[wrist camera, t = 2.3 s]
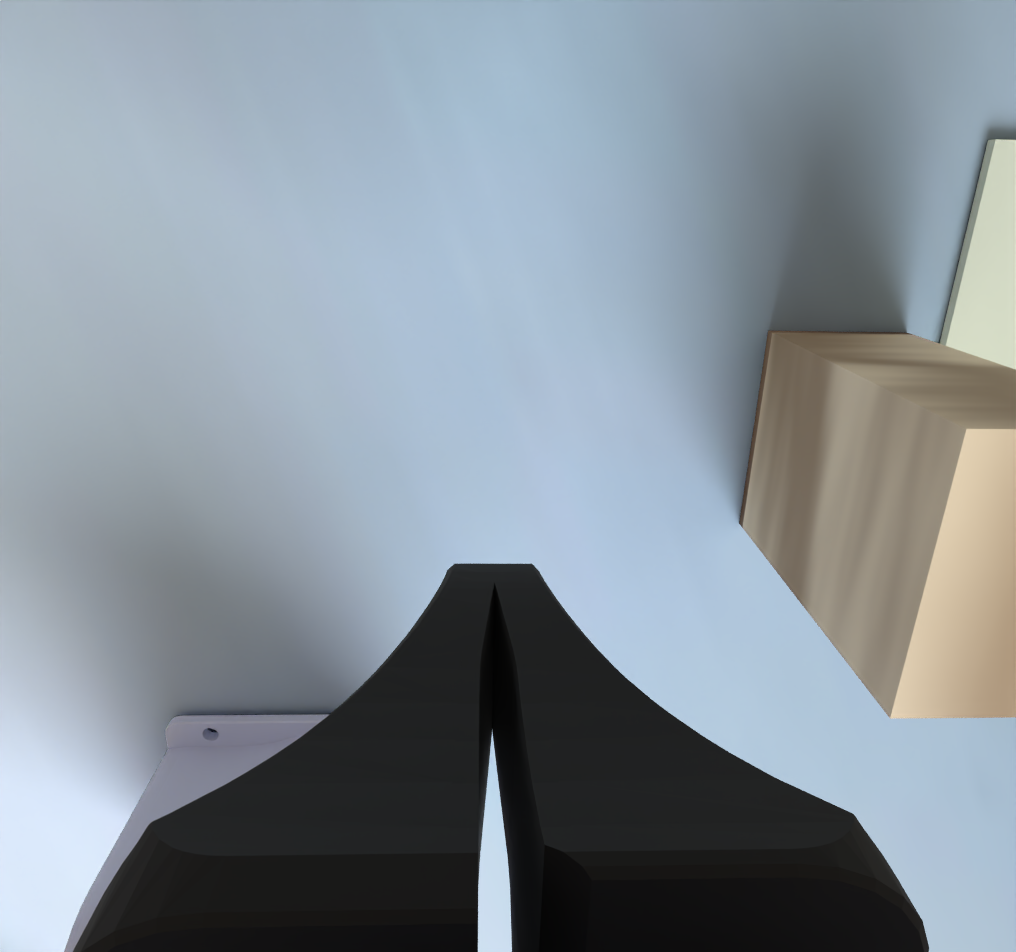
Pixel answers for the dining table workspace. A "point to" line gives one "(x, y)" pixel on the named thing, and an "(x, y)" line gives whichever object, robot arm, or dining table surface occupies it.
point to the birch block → (893, 511)
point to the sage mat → (988, 265)
